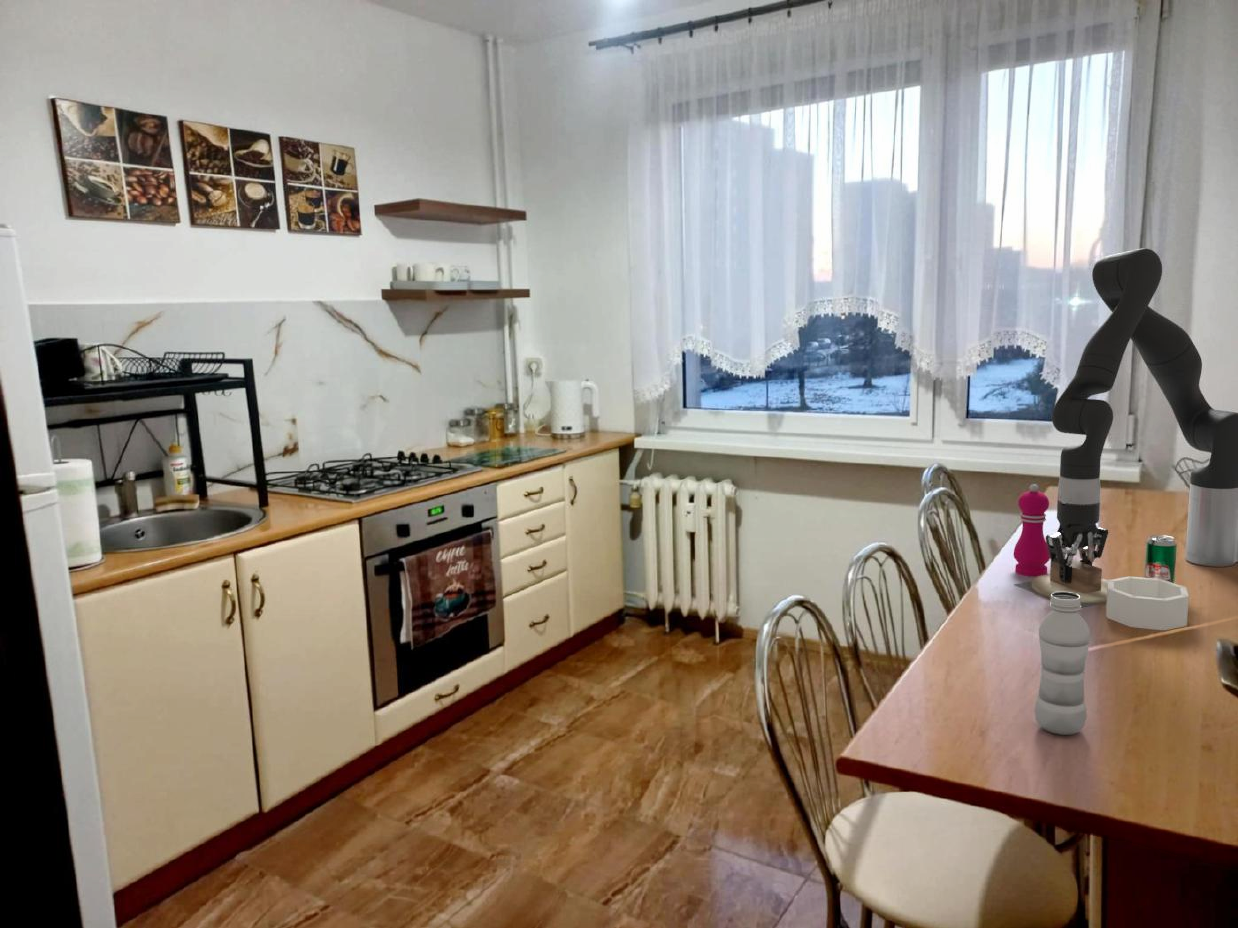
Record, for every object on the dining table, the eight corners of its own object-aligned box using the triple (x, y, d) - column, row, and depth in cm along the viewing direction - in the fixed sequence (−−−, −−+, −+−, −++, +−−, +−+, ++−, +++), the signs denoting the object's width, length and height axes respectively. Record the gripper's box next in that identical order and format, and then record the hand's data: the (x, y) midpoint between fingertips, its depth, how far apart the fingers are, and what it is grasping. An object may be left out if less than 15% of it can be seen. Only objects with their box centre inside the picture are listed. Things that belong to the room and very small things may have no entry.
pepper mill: (1053, 579, 186) (1057, 487, 182) (1017, 579, 188) (1020, 488, 184) (1044, 568, 193) (1047, 480, 189) (1009, 568, 195) (1012, 480, 191)
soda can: (1140, 597, 173) (1143, 538, 171) (1146, 590, 177) (1150, 533, 175) (1170, 602, 170) (1173, 542, 168) (1175, 595, 173) (1179, 536, 171)
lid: (1075, 573, 188) (1076, 548, 187) (1139, 596, 173) (1140, 569, 172) (1013, 584, 183) (1014, 559, 182) (1074, 608, 168) (1075, 581, 167)
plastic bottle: (1024, 720, 127) (1029, 590, 124) (1069, 716, 128) (1074, 586, 124) (1049, 742, 121) (1055, 605, 117) (1096, 738, 122) (1103, 601, 118)
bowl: (1142, 603, 170) (1143, 573, 169) (1202, 624, 158) (1204, 593, 157) (1090, 613, 166) (1091, 583, 165) (1148, 636, 155) (1149, 603, 154)
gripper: (1091, 490, 180) (1088, 570, 183) (1035, 498, 176) (1032, 580, 179) (1122, 497, 173) (1118, 580, 176) (1064, 506, 169) (1061, 591, 172)
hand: (1075, 580), depth 177 cm, fingers open, 4 cm apart
